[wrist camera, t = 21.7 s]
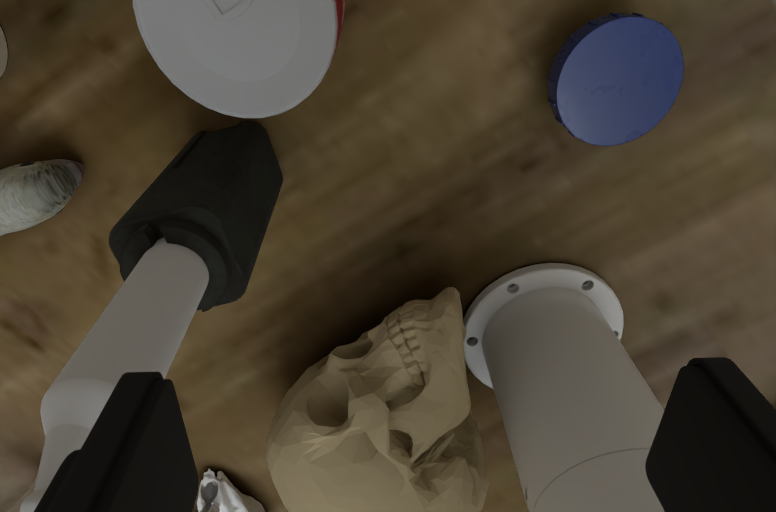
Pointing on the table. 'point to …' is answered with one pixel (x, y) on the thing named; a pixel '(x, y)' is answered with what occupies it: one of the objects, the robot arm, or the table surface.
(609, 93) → the lid
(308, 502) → the skull
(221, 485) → the bird figurine
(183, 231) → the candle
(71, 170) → the decorative bird
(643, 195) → the table surface
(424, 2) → the table surface
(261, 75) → the canned food
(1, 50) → the jar
